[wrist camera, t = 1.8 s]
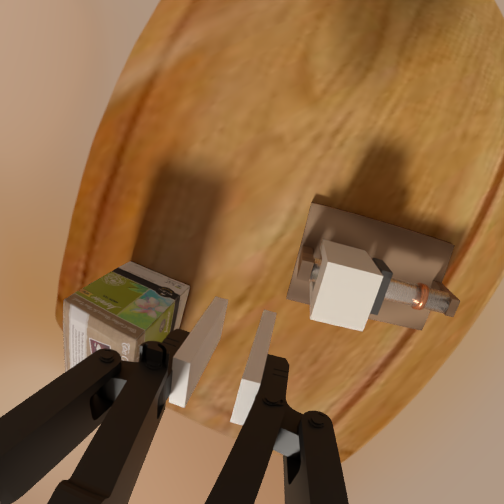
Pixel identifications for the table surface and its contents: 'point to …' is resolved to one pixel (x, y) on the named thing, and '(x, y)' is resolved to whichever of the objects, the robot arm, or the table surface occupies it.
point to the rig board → (378, 246)
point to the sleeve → (344, 286)
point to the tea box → (121, 313)
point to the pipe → (407, 293)
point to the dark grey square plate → (383, 287)
